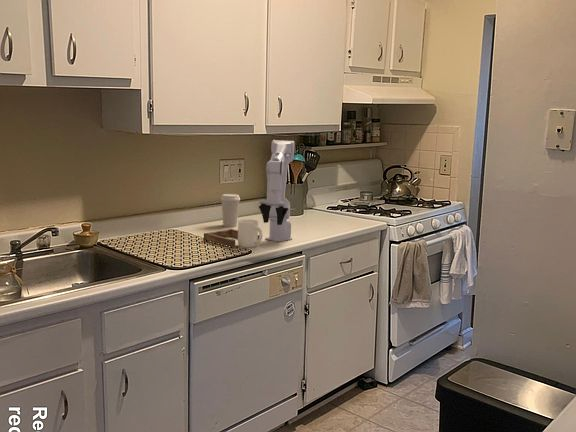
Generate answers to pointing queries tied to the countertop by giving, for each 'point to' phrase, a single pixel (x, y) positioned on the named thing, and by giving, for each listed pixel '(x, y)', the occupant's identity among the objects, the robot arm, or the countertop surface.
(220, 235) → the box
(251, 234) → the mug
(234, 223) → the coffee cup
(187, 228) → the countertop surface
